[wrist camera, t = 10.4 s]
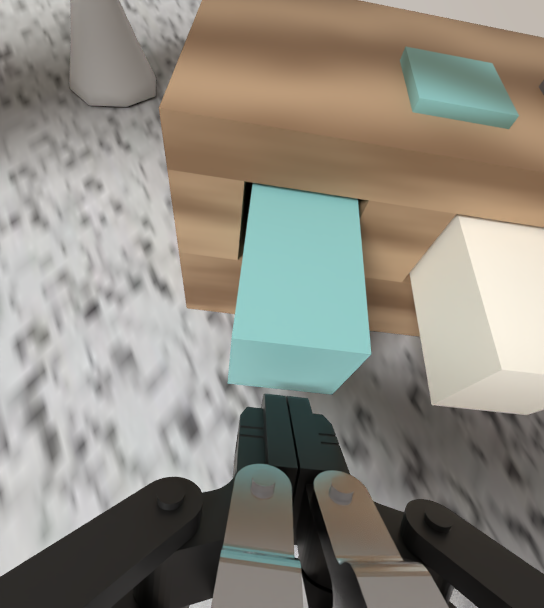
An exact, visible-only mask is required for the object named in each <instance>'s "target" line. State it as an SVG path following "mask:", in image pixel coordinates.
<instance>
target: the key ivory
mask: <svg viewBox="0 0 544 608" xmlns="http://www.w3.org/2000/svg"><path fill="white" fill-rule="evenodd" d="M410 279H411V285H412V291H413V297H414V303H415V309H416V315H417V321H418V327H419V332H420V338H421V344H422V350H423V356H424V362H425V368H426V374H427V380H428V386H429V392H430V398H431V404H432V405H436V406H446V407H455V408H465V409H474V410H483V411H493V412H502V413H512V414H521V415H528V414H532V413H535V412H538V411H541V410H544V227H538V226H532V225H525V224H519V223H512V222H506V221H499V220H493V219H486V218H480V217H473V216H467V215H460V214H456V215H455V217H454V218H453V219H452V220H451V222H450V223H449V224H448V225H447V227H446V228H445V229H444V230H443V232H442V233H441V234H440V235H439V237H438V238H437V239H436V240H435V242H434V243H433V244H432V245H431V247H430V248H429V249H428V250H427V252H426V253H425V254H424V255H423V256H422V258H421V259H420V260H419V261H418V263H417V264H416V265H415V266H414V268H413V269H412V270H411V271H410Z"/></svg>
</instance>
